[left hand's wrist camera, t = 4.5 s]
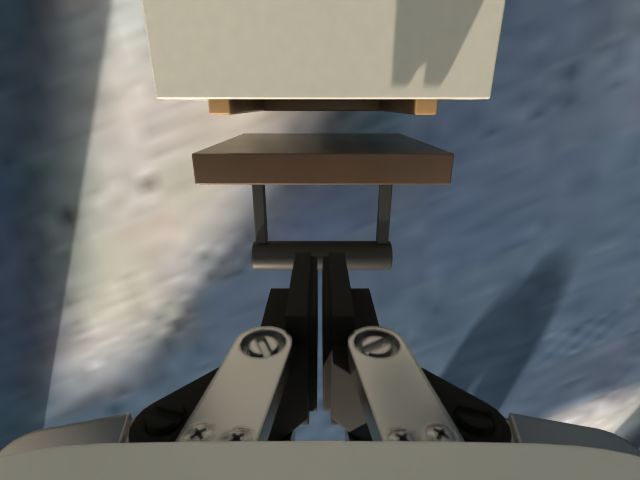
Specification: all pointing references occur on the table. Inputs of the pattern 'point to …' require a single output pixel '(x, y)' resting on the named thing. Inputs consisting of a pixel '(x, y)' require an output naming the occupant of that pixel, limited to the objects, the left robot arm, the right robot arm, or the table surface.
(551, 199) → the table surface
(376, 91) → the cabinet
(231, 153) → the drawer
